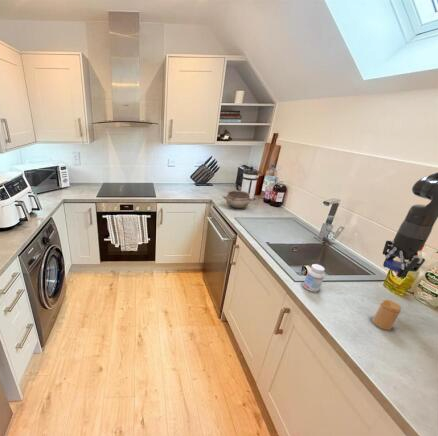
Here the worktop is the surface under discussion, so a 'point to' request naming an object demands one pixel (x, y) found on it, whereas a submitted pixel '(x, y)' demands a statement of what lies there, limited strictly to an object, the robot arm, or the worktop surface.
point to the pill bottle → (314, 278)
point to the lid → (393, 265)
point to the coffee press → (248, 181)
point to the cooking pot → (238, 199)
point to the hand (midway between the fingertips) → (393, 271)
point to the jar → (386, 314)
